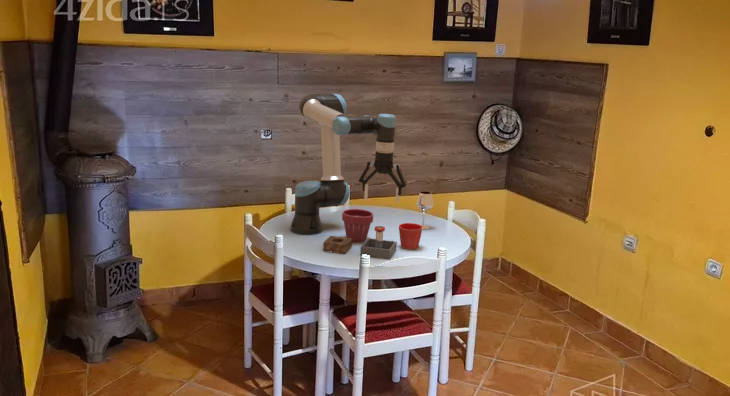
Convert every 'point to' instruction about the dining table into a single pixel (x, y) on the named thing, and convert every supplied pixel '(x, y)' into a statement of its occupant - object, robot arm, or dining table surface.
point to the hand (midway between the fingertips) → (381, 200)
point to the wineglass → (425, 204)
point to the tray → (383, 253)
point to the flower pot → (410, 235)
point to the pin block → (337, 244)
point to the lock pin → (379, 236)
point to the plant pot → (357, 223)
